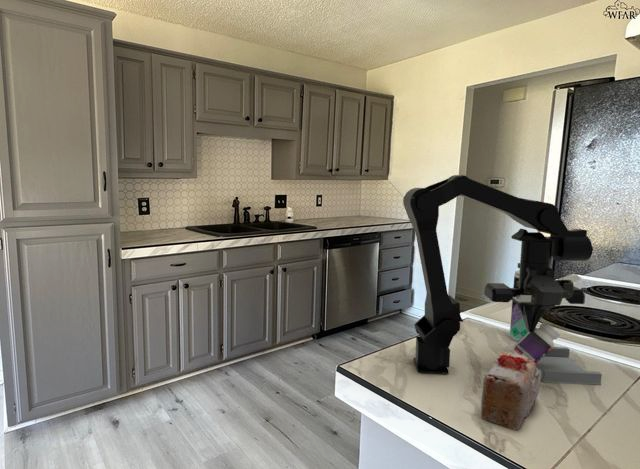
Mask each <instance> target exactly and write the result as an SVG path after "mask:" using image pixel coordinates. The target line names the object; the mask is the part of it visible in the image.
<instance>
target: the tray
mask: <svg viewBox="0 0 640 469" xmlns="http://www.w3.org/2000/svg"><path fill="white" fill-rule="evenodd" d="M536 367H537V369H539V370H541V380H542V381H543V382H544V383H554V384H555V383H556V384H574V385H575V384H576V385H577V384H578V385H595V386H596V385H597V386H600V385H601V384H602V375H603V374H602V373H601V372H600V371H589V370H585V369H584V368H582V367H581V366H580V365H579V364H577V363H576V362H575V360H573V359H571V358H570V348H569V347H562V346H561V347H559V346H555V347H553V348H552V349H551V350H550V351H549V352H548V353H547V354H546V355H545V356H544V357H543V358H542V359H540V360H539V361H538V362H537V363H536Z"/></svg>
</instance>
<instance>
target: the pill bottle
mask: <svg viewBox="0 0 640 469" xmlns="http://www.w3.org/2000/svg"><path fill="white" fill-rule="evenodd" d="M559 337H561V333H559V332H558V331H557V330H556V329H555V328H554V327H552V326H551V325H549V324H548V323H547V322H546V321H543V322H542V323H541V324H539V327H538V328H537V327H536V328H535V330H534V331H533V332H528V333H527V334H526V335H525V336H524V337H522V339H520V340H519V341H516V343H515V344H514V345H513V346H512V347H511V348H510V351H511V352H510V353H514V354H519V355H522V356H524V357H527V358H528V359H530V360H532V361H533V362H535V364H536V363H537V362H538V361H539V360H540V359H542V358H543V357H544V356H545V355H546V354H547V353H548V352H549V351H550V350H551V349H552V348H553V347H554V346H555V342H554V341H555V340H557V339H558V338H559Z"/></svg>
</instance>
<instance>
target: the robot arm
mask: <svg viewBox="0 0 640 469" xmlns="http://www.w3.org/2000/svg"><path fill="white" fill-rule="evenodd" d="M459 196H461V197H463V198H465V199H468V200H470V201H471V202H472V201H473V202H476V203H478V204H481V205H483V206H486V207H489V208H491V209H493V210H496V211H499V212H501V213H504V214H505V215H507V216H508V217H509V218H510V219H512V220H513V221H515V222H517V224H519V225H522V226H523V227H525V228H528V229H532V230H536V232H534V231H531V232H529V231H528V230H527V229H525V228H519V229H518V231H517V232H515V233H514V234H513V235H511V239H512V240H516V241H519V242H521V246H520V260H519V261H520V262H517V268H518V269H519V270H520V273H519V281H517V283H516V286H518V287H519V288H513V287H510V286H508V285H507V284H505V283H504V282H503V283H501V282H497V283H495V282H489V283H486V285H485V286H484V296H485V297H487V298H488V299H489V300H490V301H492V302H494V303H510V301H511V302H512V301H514V302H515V303H517V305H518V307H519V309H520V311H521V314H522V317H523V320H524V322H525V325H526V328H527V330H528V331H529V332H533V331H534V330H535V328H537V325H538V324H539V322H540V321H541V320H540V319H541V318H542V316H543V314H544V313H545V312H546V311H547V310H549V309H550V308H555V307H556V306H560V305H562V301H563V299H564V300H565V301H567V302H568V304H570V305H584V304H585V302H586V294H585V291H584V290H583V289H581V288H579V287H577V286H574V282H573V281H572V280H571V279H555V272H554V268H553V267H551V262H552V258H553V260H554V261H556V262H586V261H588V260H589V259H591V257H592V255H593V252H594V246H593V244H592V241H591V239H590V238H589V236H587V235H588V231H587V229H582V228H574V229H568V228H567V225H566V224H565V223H564V222H563V220H562V219H561V217H560V212H559V208H558V207H557V206H556V205H555V204H553V203H549V202H544V201H539V200H533V199H528V198H523V197H522V198H521V197H517V196H515V195H513V194H511V193H507V192H505V191H502V190H499V189H497V188H494V187H492V186H489V185H487V184H484V183H482V182H480V181H476V180H474V179H471V178H470V177H469V176H467V175H463V174H455V175H451V176H449V177H448V178H446V179H443V180H441V181H438V182H436V183H433V184H430V185H428V186H426V187H425V186H424V187H414V188H411V189H409V190H408V191H407V192H406V193H405V195H404V196H403V199H402V201H403V202H402V204H403V207H404V209H405V212H406V215H407V218H408V220H409V222H410V223H411V227H412V228H413V229H414V232H415V237H416V242H417V247H418V253H419V258H420V259H419V260H420V264H421V271H422V276H423V280H424V285H425V291H426V294H425V295H426V296H425V301H424V315H422V317H421V318H419V320H417V321H416V322H415V323H414V324H413V325H414V329H415V332H416V334H418V335H417V336H415V353H414V354H415V357H413V362H414V365H415V368H416V371H417V372H418V373H426V374H442V375H443V374H444V375H445V374H446V375H447V374H449V368H450V360H451V359H450V358H451V349H450V345H451V343H452V341H453V338H454V337H455V336H457V334H458V332H460V331H461V330H460V329H461V323H463V322H464V319H463V318H462V316H461V306H460V302H458V300H457V299H455V298H454V297H453V296H451V295H450V294H449V293H448V289H447V288H448V287H447V283H446V276H445V272H444V266H443V260H442V255H441V250H440V244H439V239H438V233H437V226H438V222H439V214H440V210H439V209H440V208H439V207H441V206H443V205H446V204H447V203H449V202H450V201H452V200H454V199H456V198H457V197H459ZM543 233H544V234H549V236H545V235H544V234H543ZM524 292H525V293H524Z"/></svg>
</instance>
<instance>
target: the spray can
mask: <svg viewBox="0 0 640 469" xmlns="http://www.w3.org/2000/svg"><path fill="white" fill-rule="evenodd" d="M519 273H520V269H518V270H516V271H515V272H514V276H513V285H512V286H513V287H512V288H519V287H518V286H516V283H517V281H519ZM524 293H525V292H524ZM528 332H529V331H528V330H527V328H526V325H525V322H524V320H523V317H522V314H521V311H520V309H519V307H518V305H517V303H515V302H514V301H512V300H511V316H510V326H509V338H510V339H511V340H513V341H516V342H518V341H519V340H520V339H522V337H524V336H525V335H526V334H527V333H528Z"/></svg>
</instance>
